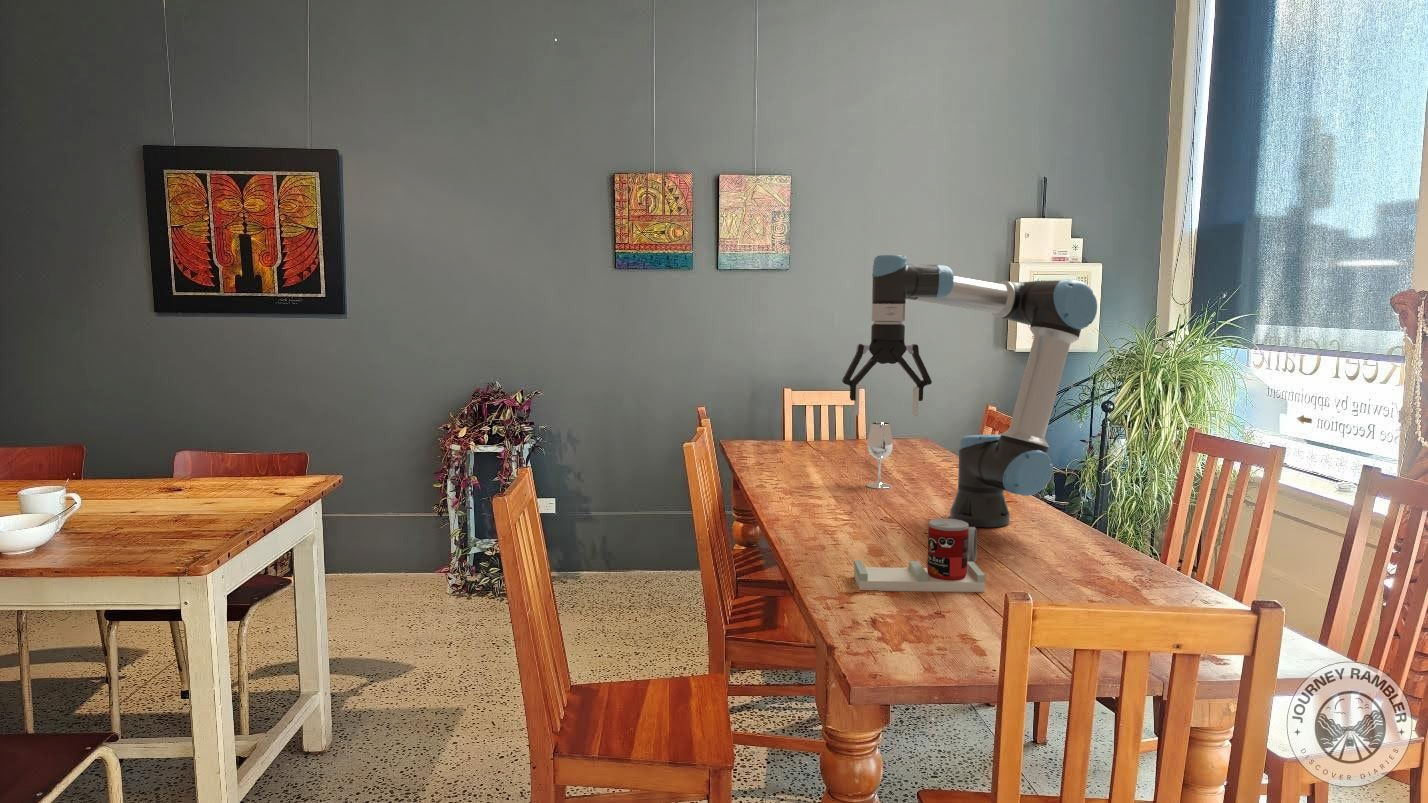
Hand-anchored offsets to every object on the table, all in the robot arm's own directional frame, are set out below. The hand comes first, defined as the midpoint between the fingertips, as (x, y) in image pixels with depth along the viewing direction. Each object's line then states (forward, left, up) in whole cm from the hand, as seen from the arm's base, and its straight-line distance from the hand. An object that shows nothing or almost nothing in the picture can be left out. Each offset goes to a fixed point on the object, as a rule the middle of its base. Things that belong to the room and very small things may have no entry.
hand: (885, 414), depth 199 cm
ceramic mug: (-15, +10, -32) cm, 37 cm away
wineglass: (-10, -67, -32) cm, 75 cm away
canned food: (-9, +26, -30) cm, 41 cm away
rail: (-3, +26, -32) cm, 41 cm away
